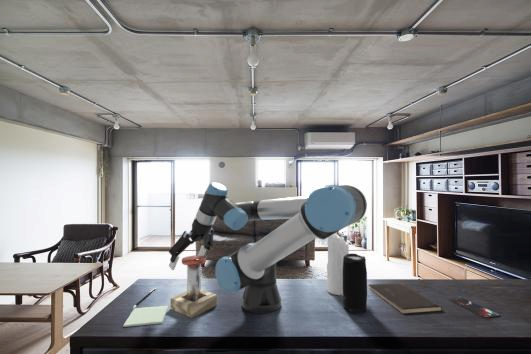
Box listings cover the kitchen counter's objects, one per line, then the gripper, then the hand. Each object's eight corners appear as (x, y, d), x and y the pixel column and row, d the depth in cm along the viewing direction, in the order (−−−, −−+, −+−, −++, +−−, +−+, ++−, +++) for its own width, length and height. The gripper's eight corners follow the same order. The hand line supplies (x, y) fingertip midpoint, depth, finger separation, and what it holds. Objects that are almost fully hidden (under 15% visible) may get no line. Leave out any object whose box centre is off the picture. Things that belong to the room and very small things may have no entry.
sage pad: (168, 307, 101) (168, 305, 101) (162, 323, 89) (162, 321, 89) (134, 309, 99) (134, 308, 99) (123, 327, 87) (123, 325, 87)
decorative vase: (348, 285, 121) (348, 230, 122) (354, 295, 111) (353, 235, 111) (324, 285, 122) (323, 230, 123) (327, 294, 112) (326, 234, 112)
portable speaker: (345, 315, 94) (344, 259, 95) (340, 303, 104) (340, 252, 104) (370, 316, 94) (369, 259, 94) (363, 304, 103) (362, 253, 103)
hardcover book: (401, 315, 95) (401, 308, 95) (368, 289, 118) (368, 284, 118) (442, 312, 97) (442, 305, 97) (402, 287, 120) (402, 282, 120)
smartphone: (462, 297, 108) (501, 315, 93) (462, 299, 108) (502, 317, 93) (447, 299, 106) (485, 317, 92) (447, 301, 106) (485, 319, 92)
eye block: (216, 304, 103) (216, 294, 103) (192, 318, 93) (192, 306, 93) (195, 297, 110) (195, 287, 110) (170, 308, 100) (170, 298, 100)
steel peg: (211, 305, 102) (211, 257, 103) (192, 315, 95) (192, 263, 95) (195, 299, 107) (195, 254, 108) (176, 308, 100) (176, 259, 100)
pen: (157, 289, 119) (157, 286, 119) (134, 309, 100) (134, 306, 100) (155, 289, 119) (155, 286, 119) (131, 309, 100) (131, 306, 100)
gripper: (221, 212, 115) (203, 251, 121) (171, 217, 95) (153, 264, 100) (232, 222, 111) (213, 262, 117) (182, 230, 91) (163, 278, 96)
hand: (185, 263), depth 108 cm, fingers open, 13 cm apart
